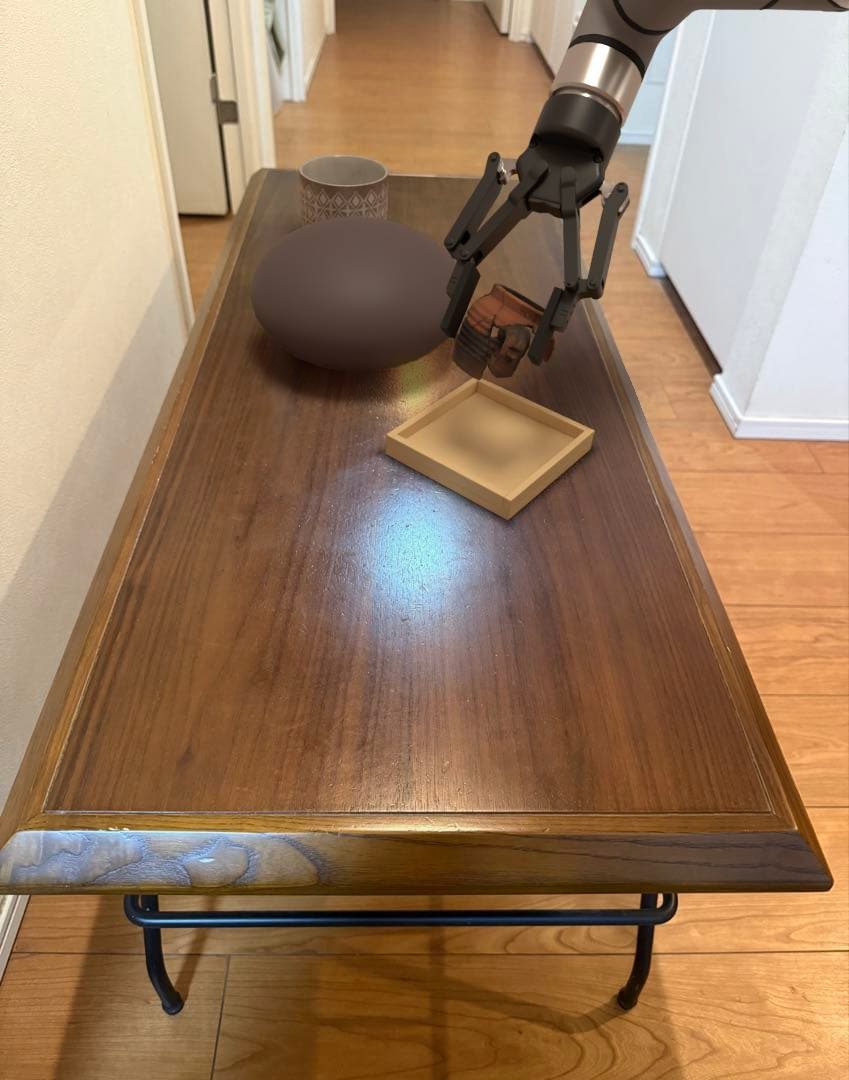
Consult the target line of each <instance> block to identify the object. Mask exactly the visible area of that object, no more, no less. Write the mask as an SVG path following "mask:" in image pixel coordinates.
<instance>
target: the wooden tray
mask: <svg viewBox="0 0 849 1080" xmlns="http://www.w3.org/2000/svg"><path fill="white" fill-rule="evenodd" d="M594 435H595V430H594V429H592V428H590V427H588V426H585V425H583V424H581V423H580V422H577V421H575V420H572V419H571V418H569V417H567V416H565V415H562V414H560V413H558V412H555V411H554V410H552V409H549V408H547V407H545V406H543V405H541V404H539V403H536V402H534V401H531V400H530V399H527V398H525V397H523V396H521V395H519V394H517V393H514V392H512V391H510V390H508V389H506V388H504V387H501V386H499V385H497V384H495V383H493V382H490V381H489V380H486V379H484V378H481V380H477V379H475V378H473V377H471V378H470V379H469V380H467V381H465V382H464V383H462V384H461V385H459V386H458V387H456V388H455V389H453V390H451V391H450V392H449V393H447V394H445V395H443V397H441V398H440V399H437V401H435V402H433V403H432V404H430V405H429V406H427V407H426V408H424V409H423V410H421V411H420V412H417V414H415V415H414V416H412V417H410V418H409V419H407V420H406V421H404V422H403V423H400V424H399V425H398V426H397V427H395V428H394V429H392V430H391V431H389V432H387V433H386V434H385V455H387V456H388V457H391V458H392V459H394V460H396V461H398V462H400V463H401V464H404V465H405V466H407V467H409V468H411V469H413V470H414V471H416V472H418V473H419V474H422V475H423V476H426V477H427V478H429V479H431V480H433V481H435V482H436V483H438V484H440V485H442V486H444V487H445V488H447V489H449V490H451V491H453V492H455V493H457V494H458V495H460V496H462V497H464V498H465V499H468V500H470V501H471V502H473V503H475V504H477V505H479V506H480V507H482V508H484V509H486V510H488V511H490V512H491V513H493V514H495V515H497V516H498V517H501V518H502V519H504V520H506V521H509V520H510V519H511V518H512V517H513V516H515V515H516V514H518V512H520V511H521V510H522V509H523V508H524V507H525V506H527V504H529V503H530V502H532V500H534V498H536V497H537V496H538V495H539V494H540V493H541V492H543V491H544V490H545V489H546V488H547V487H549V486H550V485H551V484H552V483H553V482H554V481H555V480H556V479H558V478H559V477H560V476H561V475H562V474H564V473H565V472H566V471H567V470H569V469H570V468H571V467H572V466H573V465H574V464H576V462H578V461H579V460H580V459H581V458H582V457H584V456H585V455H586V454H587V453H588V452H589V451H591V449H592V444H593V439H594Z"/></svg>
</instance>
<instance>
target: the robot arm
mask: <svg viewBox="0 0 849 1080" xmlns="http://www.w3.org/2000/svg"><path fill="white" fill-rule="evenodd" d="M700 10H702V11H703V10H708V11H709V10H710V11H715V10H716V11H722V10H723V11H764V10H768V11H769V10H771V11H772V10H773V11H775V10H776V11H805V12H806V11H808V12H811V11H812V12H824V13H825V12H826V13H845V12H849V0H586V1H585V3H584V7H583V9H582V12H581V14H580V17H579V19H578V22H577V24H576V26H575V29H574V31H573V34H572V36H571V39H570V42H569V44H568V46H567V49H566V52H565V54H564V56H563V58H562V60H561V63H560V65H559V68H558V70H557V72H556V75H555V77H554V79H553V81H552V84H551V86H550V88H549V92H548V96H547V97H548V99H546V101H545V102H544V104H543V107H542V109H541V111H540V114H539V116H538V118H537V121H536V123H535V126H534V128H533V131H532V133H531V136H530V139H529V143H528V144H527V147H526V148H525V150H524V151H523V152H522V153H521V154H520V155H519V156H518V157H517V158H509V157H502V156H501V154H500V153H499V152H498V151H492V152H490V153H489V154H488V156H487V159H486V164H485V167H484V172H483V175H482V176H481V179H479V182H478V183H477V186H476V187H475V188H474V190H473V192H472V194H471V195H470V197H469V199H468V200H467V202H466V203H465V205H464V207H463V208H462V210H461V212H460V213H459V215H458V217H456V218H457V219H456V220H455V221H454V223H453V225H452V227H450V230H449V232H448V233H447V235H446V236H445V238H444V240H443V246H444V249H445V250H446V252H447V253H448V254H449V255H450V256H451V257H452V258H453V260H455V263H456V265H455V268H454V270H453V272H452V275H451V278H450V280H449V282H448V285H447V287H446V293H447V294H448V296H449V297H450V299H451V300H450V303H449V305H448V308H447V310H446V313H445V315H444V318H443V320H442V322H441V325H440V328H441V329H442V331H443V332H444V333H445V334H446V335H447V337H449V338H450V339H453V340H454V339H455V338H456V335H457V334H459V333H458V332H459V331H460V328H461V326H462V322H463V321H464V319H465V317H466V316H465V315H466V314H467V311H468V309H469V306H470V304H471V301H472V298H473V296H474V294H475V292H476V289H477V286H478V283H479V281H480V278H481V276H482V275H481V273H480V271H479V269H478V268H477V267H478V266H479V265H480V264H481V263H482V262H483V261H484V260H485V259H486V258H487V257H488V256H489V254H491V252H492V251H493V250H494V249H496V247H497V246H498V245H499V244H500V243H502V241H503V240H504V239H505V238H506V237H507V236H508V235H509V234H510V232H511V231H512V230H514V228H515V227H516V226H517V225H518V224H519V223H520V222H521V221H522V220H526V219H527V218H528V217H529V216H530V215H531V214H532V213H537V214H549V215H551V216H552V217H554V218H557V219H562V231H563V232H562V235H563V237H562V239H563V241H562V242H563V270H564V273H563V275H564V281H563V285H564V288H561V287H559V286H558V287H557V286H554V287H553V289H552V292H551V294H550V297H549V299H548V301H547V304H546V306H545V311H544V314H543V316H542V319H541V321H540V324H539V326H538V328H537V331H536V333H535V334H534V336H533V337H532V341H531V342H530V347H529V349H528V350H527V352H526V356H527V358H528V360H529V362H530V363H531V364H532V365H534V366H537V367H539V368H540V367H541V365H542V362H543V361H544V360H543V358H544V355H545V353H546V350H547V348H548V345H549V343H550V341H551V338H552V336H553V333H554V334H555V332H558V333H562V334H563V333H565V332H566V330H567V329H568V326H569V324H570V321H571V319H572V317H573V314H574V312H575V310H576V307H577V306H578V303H579V302H580V301H581V300H583V299H592V300H594V301H595V300H600V299H601V298H603V295H604V292H605V287H606V282H607V278H608V273H609V269H610V264H611V260H612V255H613V251H614V246H615V242H616V238H617V234H618V233H617V232H618V228H619V224H620V220H621V219H622V217H623V215H624V214H625V212H626V211H627V209H628V207H629V206H630V203H631V197H630V191H629V185H628V183H626V182H625V181H620V182H617V183H614V182H612V181H609V180H606V171H607V169H608V167H609V165H610V162H611V160H612V157H613V155H614V152H615V149H616V147H617V145H618V142H619V139H620V137H621V135H622V129H623V127H624V126H625V125H626V122H627V119H628V117H629V115H630V113H631V110H632V107H633V105H634V103H635V100H636V98H637V97H638V94H639V91H640V89H641V86H642V83H643V81H644V78H645V76H646V73H647V72H648V69H649V66H650V64H651V62H652V59H653V57H654V55H655V52H656V50H657V48H658V46H659V44H660V43H661V41H662V39H664V38H665V37H666V36H668V34H669V33H671V32H672V31H673V30H675V29H676V28H677V27H678V26H679V25H680V24H681V23H682V22H683V21H684V20H686V18H688V17H689V16H690V15H692V13H694V12H697V11H700ZM515 175H517V179H518V181H519V183H518V184H516V186H515V187H514V188H513V189H512V190H511V191H510V192H509V193H508V195H507V199H506V200H505V201H504V202H503V203H502V205H501V206H500V207H499V208H498V209H497V210H496V211H495V212H494V213H493V214H492V215H491V216H490V217H489V218H488V219H487V220H486V219H485V218H486V217H487V216H488V214H489V212H490V210H491V209H492V208H493V205H494V204H495V203H496V201H497V199H498V197H499V195H500V193H501V191H502V188H503V185H504V186H507V185H508V184H509V181H510V179H511V178H512V177H513V176H515ZM599 196H601V198H600V202H601V206H602V211H601V215H600V219H599V225H598V229H597V234H596V236H595V237H596V238H595V241H594V247H593V251H592V256H591V260H590V265H589V270H588V274H587V278H582V253H581V251H582V250H581V209H582V208H584V207H585V206H586V205H587V204H589V203H591V202H592V201H593V200H595V199H596V198H597V197H599ZM484 220H486V221H485V223H484V224H483V222H484ZM481 225H482V226H481ZM449 338H448V339H449Z"/></svg>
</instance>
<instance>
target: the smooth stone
mask: <svg viewBox="0 0 849 1080" xmlns="http://www.w3.org/2000/svg"><path fill="white" fill-rule="evenodd" d="M455 265H456V260H455V259H453V258H452V257H451V255H450V254H449V252H448V251H447V249H446V248H445V247H443V246H442V245H440V244H439V243H438V241H435V240H434V239H433V238H431V237H430V236H428V235H427V234H425V233H424V232H421V231H420V230H418V229H417V228H413V227H411V226H409V225H405V224H402V223H400V222H396V221H392V220H389V219H388V220H385V219H380V218H373V217H356V216H352V217H339V218H332V219H327V220H323V221H319V222H315V223H312V224H309V225H306V226H303V227H302V226H301V227H299V228H297V229H295V230H293V231H291V232H290V233H288V234H286V235H285V236H283V237H282V238H280V239H279V240H278V241H276V242H275V243H273V245H271V246H270V248H269V249H268V250H267V251H266V252H265V253H264V254H263V256H262V257H261V258H260V260H259V262H258V263H257V266H256V268H255V270H254V272H253V274H252V279H251V284H250V294H249V295H250V296H249V297H250V301H251V305H252V308H253V312H254V316H255V319H256V321H257V322H258V323H259V325H260V326H261V327H262V329H263V331H265V333H266V334H267V336H268V338H270V339H271V340H272V341H273V342H274V343H276V344H277V345H278V346H279V347H281V349H283V350H284V351H286V352H287V353H289V354H291V355H292V356H294V357H296V358H298V359H299V360H302V361H305V362H308V363H310V364H313V365H316V366H319V367H322V368H326V369H330V370H333V371H342V372H350V373H369V372H370V373H371V372H381V371H386V370H390V369H395V368H399V367H401V366H404V365H407V364H410V363H414V362H416V361H419V360H420V359H422V358H425V357H426V356H428V355H430V354H431V353H433V352H434V351H435V350H436V349H438V348H439V347H440V346H441V345H442V344H444V343H445V342H446V341H447V340H448V339H449V337H447V335H446V334H445V333H444V332H443V331H442V329H441V328H440V325H441V322H442V320H443V318H444V315H445V313H446V310H447V308H448V305H449V303H450V300H451V299H450V297H449V296H448V294H447V293H446V287H447V285H448V282H449V280H450V278H451V275H452V272H453V270H454V268H455Z"/></svg>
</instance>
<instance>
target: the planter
mask: <svg viewBox="0 0 849 1080" xmlns="http://www.w3.org/2000/svg"><path fill="white" fill-rule="evenodd" d="M389 171H390V170H389V168H388V167H387V166H386V165H385V164H384V163H383V162H381V161H379V160H377V159H375V158H372V157H368V156H362V155H356V154H345V153H337V154H323V155H319V156H315V157H310V158H309V159H306V160H305V161H303V162H302V163H301V164H300V165H299V167H298V177H299V179H298V181H299V198H300V202H299V203H300V218H301V221H300V222H301V227H303V226H306V225H309V224H312V223H315V222H319V221H323V220H327V219H332V218H339V217H352V216H356V217H373V218H380V219H385V220H389V219H388V215H389Z"/></svg>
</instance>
